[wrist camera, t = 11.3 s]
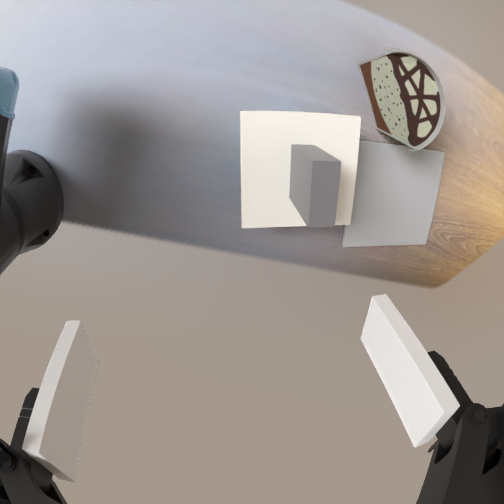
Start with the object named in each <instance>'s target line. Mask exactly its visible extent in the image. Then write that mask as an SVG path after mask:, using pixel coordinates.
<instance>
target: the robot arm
mask: <svg viewBox="0 0 504 504" xmlns="http://www.w3.org/2000/svg"><path fill="white" fill-rule="evenodd" d="M18 89H19V79H18V76H17V75H16V73H15V72H14V71H12V70H10V69H7V68H4V67H0V275H1V274H2V272H3V271H4V270H5V269H6V268H7V267H8V265H10V263H11V262H12V261H13V260H14V259H15V258H16V257H17V256H18V255H20V254H22V253H25V252H28V251H30V250H33V249H36V248H38V247H40V246H41V245H43V244H44V243H46V242H47V241H48V240H49V239H50V237H51V236H52V235H53V234H54V233H55V232H56V230H57V229H58V226H59V225H60V222H61V219H62V214H63V196H62V191H61V187H60V184H59V181H58V179H57V177H56V175H55V173H54V171H53V170H52V168H51V167H50V166H49V164H48V163H47V162H46V161H45V160H44V159H43V158H41V157H40V156H39V155H37V154H35V153H33V152H30V151H26V150H17V151H13V152H11V153H8V154H7V148H8V142H9V137H10V131H11V126H12V121H13V120H14V118H15V114H14V109H15V103H16V98H17V94H18ZM360 339H361V341H362V343H363V344H364V346H365V348H366V350H367V352H368V354H369V356H370V358H371V360H372V362H373V364H374V366H375V368H376V370H377V372H378V374H379V376H380V378H381V379H382V381H383V383H384V385H385V387H386V389H387V391H388V393H389V396H390V398H391V399H392V402H393V404H394V405H395V408H396V410H397V412H398V414H399V416H400V418H401V420H402V422H403V424H404V427H405V429H406V431H407V433H408V435H409V437H410V439H411V442H412V444H413V446H414V447H417V446H420V445H422V444H424V443H427V442H429V441H430V440H431V439H432V438H433V437H434V436H435V435H436V436H437V439H438V440H437V441H436V442H435V443H434V444H433V445H432V446H431V447H430V449H429V451H428V452H431V451H432V450H433V449H434V451H433V455H432V458H431V462H430V465H429V468H428V472H427V474H426V478H425V481H424V484H423V487H422V489H421V492H420V495H419V498H418V500H417V503H416V504H504V404H503V405H502V406H501V407H494V408H485V407H484V406H483V405H480V404H479V403H473V402H472V401H471V399H470V398H469V396H468V395H467V393H466V392H465V390H464V388H463V387H462V385H461V384H460V382H459V381H458V379H457V377H456V376H454V373H453V371H452V370H451V369H450V368H449V365H448V364H447V362H446V361H445V359H444V358H443V357H442V356H441V355H439V354H438V353H437V352H435V351H431V352H428V353H427V352H426V351H425V349H424V347H423V346H422V344H421V343H420V342H419V340H418V339H417V337H416V336H415V334H414V333H413V331H412V330H411V328H410V327H409V325H408V324H407V323H406V321H405V320H404V318H403V317H402V315H401V314H400V313H399V311H398V310H397V308H396V307H395V306H394V304H393V303H392V302H391V300H390V299H389V297H388V296H387V295H386V294H383V295H377V296H372V298H371V302H370V306H369V310H368V314H367V318H366V321H365V324H364V328H363V331H362V335H361V338H360ZM99 364H100V360H99V358H98V357H97V354H96V352H95V350H94V348H93V346H92V344H91V342H90V340H89V338H88V336H87V334H86V331H85V329H84V327H83V325H82V322H81V321H67V322H66V324H65V326H64V328H63V331H62V333H61V335H60V338H59V340H58V342H57V345H56V348H55V350H54V352H53V355H52V357H51V360H50V362H49V365H48V368H47V370H46V373H45V376H44V379H43V381H42V384H41V387H40V389H39V388H32V389H31V391H30V392H29V393H28V394H27V396H26V397H25V400H24V403H23V406H22V408H23V409H22V410H21V412H20V417H19V418H18V421H17V425H16V428H15V431H14V435H13V438H12V442H11V445H10V446H9V445H8V444H7V443H6V442H5V441H3V440H2V439H0V504H67V502H66V501H65V499H64V498H63V496H62V494H61V493H60V491H59V489H58V487H57V486H56V484H55V482H54V481H53V480H52V475H53V474H54V475H55V476H56V477H58V478H59V479H62V480H67V481H72V482H76V477H77V470H78V463H79V457H80V451H81V445H82V439H83V434H84V429H85V423H86V419H87V414H88V409H89V405H90V400H91V396H92V391H93V387H94V383H95V379H96V375H97V371H98V367H99ZM500 446H501V447H500Z"/></svg>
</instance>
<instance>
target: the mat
mask: <svg viewBox="0 0 504 504" xmlns="http://www.w3.org/2000/svg"><path fill="white" fill-rule="evenodd" d="M409 149H411V147H409V146H404V145H397V144H389V143H381V142H372V141H363V140H359V151H358V162H357V172H356V182H355V191H354V199H353V207H352V215H351V222H350V225H345V226H344V233H343V239H342V247H361V246H391V245H421V244H426V242H427V238H428V234H429V230H430V226H431V222H432V218H433V213H434V209H435V205H436V200H437V195H438V190H439V185H440V180H441V174H442V168H443V162H444V156H445V152H442V151H436V150H430V149H424V148H422V149H420V150H418V151H409Z"/></svg>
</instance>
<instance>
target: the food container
mask: <svg viewBox="0 0 504 504" xmlns="http://www.w3.org/2000/svg"><path fill="white" fill-rule="evenodd" d="M383 50H388V51H390V52H388V53H386V54H383V55H380V56H377V57H375V58H372V59H370V60H367V61H364V62H362V63H359V64H358V67H359V71H360V74H361V77H362V80H363V83H364V87H365V90H366V94H367V97H368V101H369V104H370V108H371V112H372V116H373V120H374V123H375V128H376V129H377V130H379V131H381V132H383V133H385V134H387V135H389V136H391V137H393V138H394V139H396V140H398V141H400V142H402V143H404V144H405V145H407V146H409V147H411V149H409V151H418V150H420V149H422V148H424V147H426V146H427V145H429V144H430V143H431V142H432V141H433V140H434V139H435V137H436V136H437V135H438V133H439V131H440V130H441V127H442V125H443V122H444V117H445V110H446V101H445V94H444V90H443V87H442V84H441V82H440V80H439V78H438V76H437V74H436V73H435V71H434V70H433V69H432V68H431V66H430V65H429V64H428V63H426V62H425V61H424V60H423V59H421V58H420V57H418V56H417V55H415V54H413V53H411V52H408V51H405V50H401V49H395V48H383Z"/></svg>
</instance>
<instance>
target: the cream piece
mask: <svg viewBox="0 0 504 504" xmlns="http://www.w3.org/2000/svg"><path fill="white" fill-rule="evenodd" d="M360 124H361V117H359V116H352V115H342V114H330V113H316V112H296V111H240V163H241V226H242V228H264V227H291V226H307V227H308V228H322V227H335V225H350V222H351V215H352V207H353V199H354V191H355V182H356V172H357V162H358V151H359V139H360Z"/></svg>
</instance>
